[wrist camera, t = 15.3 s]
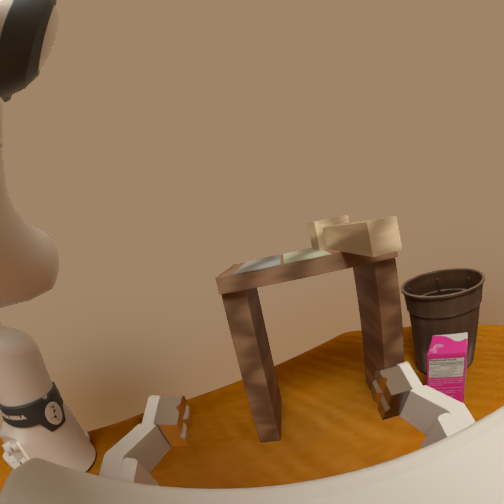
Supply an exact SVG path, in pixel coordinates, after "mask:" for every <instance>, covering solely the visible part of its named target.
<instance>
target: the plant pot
mask: <svg viewBox="0 0 504 504" xmlns="http://www.w3.org/2000/svg"><path fill="white" fill-rule="evenodd" d="M484 281H485V275H484V274H483V273H482V272H480V271H478V270H474V269H465V268H464V269H463V268H458V269H446V270H437V271H432V272H428V273H425V274H421V275H418V276H416V277H413V278H412V279H409V280H407V281H406V282H405V283H403V285H402V286H401V292H402V293H403V294H404V296H405V301H406V306H407V310H408V311H409V314H410V320H411V326H412V333H413V340H414V348H415V357H416V364H417V368H418V369H419V370H420V371H421V372H423V373H425V374H427V353H428V350H429V347H430V343H431V340H432V336H433V335H446V334H457V333H465V332H467V333H468V350H467V367H468V366H469V365H470V364H471V363H472V361H473V358H474V351H475V343H476V336H477V328H478V318H479V307H480V303H481V300H482V286H483V283H484Z"/></svg>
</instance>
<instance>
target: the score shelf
mask: <svg viewBox="0 0 504 504" xmlns="http://www.w3.org/2000/svg"><path fill="white" fill-rule="evenodd" d="M397 256H398V255H397V251H395V252H391V253H387V254H383V255H379V256H375V257H370V256H364V255H358V254H353V253H347V252H341V251H335V250H329V249H325V250H321V251H319V250H315V249H312V248H309V249H305V250H299V251H294V252H290V253H285V254H283V255H275V256H271V257H266V258H261V259H256V260H251V261H247V262H245V263H240V264H235V265H233V266H231V267H230V268H229V269H227V270H226V271H225V272H223V273H222V274H221V275H219V276H218V277H217V278H216V282H217V286H218V291H219V294H222V299H223V303H224V307H225V312H226V315H227V320H228V323H229V328H230V331H231V335H232V340H233V344H234V348H235V351H236V355H237V359H238V363H239V367H240V371H241V374H242V378H243V382H244V386H245V389H246V393H247V397H248V400H249V404H250V408H251V411H252V415H253V418H254V422H255V425H256V429H257V432H258V435H259V439H260V442H269V441H278V440H280V438H281V396H280V392H279V387H278V383H277V378H276V374H275V369H274V365H273V360H272V355H271V351H270V346H269V342H268V337H267V333H266V328H265V323H264V319H263V314H262V310H261V305H260V300H259V296H258V291H257V287H261V286H267V285H271V284H276V283H281V282H286V281H291V280H296V279H301V278H306V277H310V276H315V275H320V274H324V273H329V272H333V271H338V270H342V269H347V268H351V267H353V271H354V276H355V283H356V290H357V296H358V304H359V311H360V319H361V327H362V337H363V346H364V357H365V369H366V382H367V384H368V385H369V387H370V389H371V387H372V383H373V381H374V380H375V377H374V374H375V371H376V370H378V369H382V368H385V367H389V366H392V365H397V364H400V363H404V347H403V327H402V315H401V302H400V293H399V284H398V275H397V268H396V261H395V257H397ZM371 391H372V390H371Z"/></svg>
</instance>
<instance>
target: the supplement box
mask: <svg viewBox="0 0 504 504" xmlns="http://www.w3.org/2000/svg"><path fill="white" fill-rule="evenodd" d="M467 350H468V333H467V332H465V333H457V334H446V335H433V336H432V340H431V343H430V347H429V350H428V353H427V386H429V387H431V388H433V389H435V390H437V391H439V392H441V393H443V394H445V395H447V396H449V397H451V398H453V399H455V400H458V401H460V402H462V403H463V401H464V392H465V383H466V370H467Z"/></svg>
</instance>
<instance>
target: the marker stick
mask: <svg viewBox="0 0 504 504" xmlns="http://www.w3.org/2000/svg"><path fill="white" fill-rule="evenodd" d="M308 229H309V233H310V239H311V244H312V249H315V250H319V251H321V250H325V249H329V250H335V251H341V252H347V253H353V254H358V255H364V256H370V257H375V256H379V255H383V254H387V253H391V252H395V251H399V250H402V246H401V240H400V234H399V229H398V223H397V218H396V216H392V217H385V218H377V219H370V220H363V221H356V222H349V218H348V215H345V216H340V217H335V218H331V219H326V220H321V221H316V222H311V223H308Z"/></svg>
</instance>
